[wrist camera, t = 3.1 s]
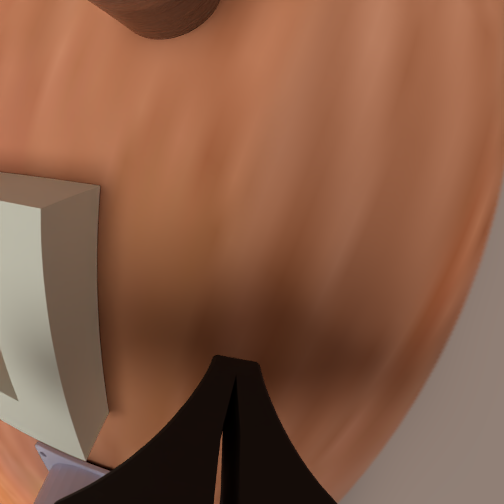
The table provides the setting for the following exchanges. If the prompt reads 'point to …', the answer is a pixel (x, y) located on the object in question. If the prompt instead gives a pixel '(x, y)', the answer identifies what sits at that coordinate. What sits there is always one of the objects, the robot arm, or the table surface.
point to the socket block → (50, 312)
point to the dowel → (159, 15)
